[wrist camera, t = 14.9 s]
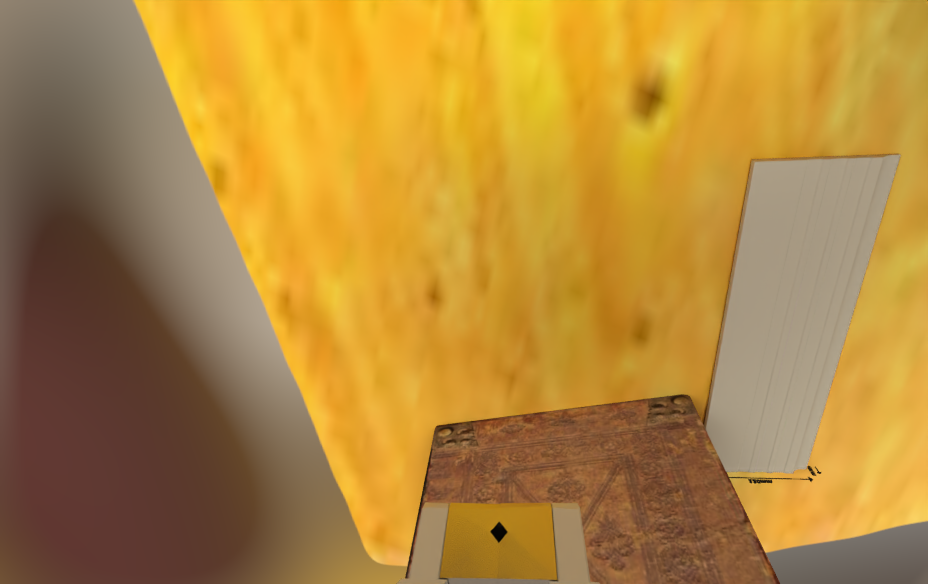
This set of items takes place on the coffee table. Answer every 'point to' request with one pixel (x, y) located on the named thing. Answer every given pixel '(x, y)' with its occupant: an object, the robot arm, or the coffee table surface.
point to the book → (611, 487)
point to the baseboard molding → (791, 304)
